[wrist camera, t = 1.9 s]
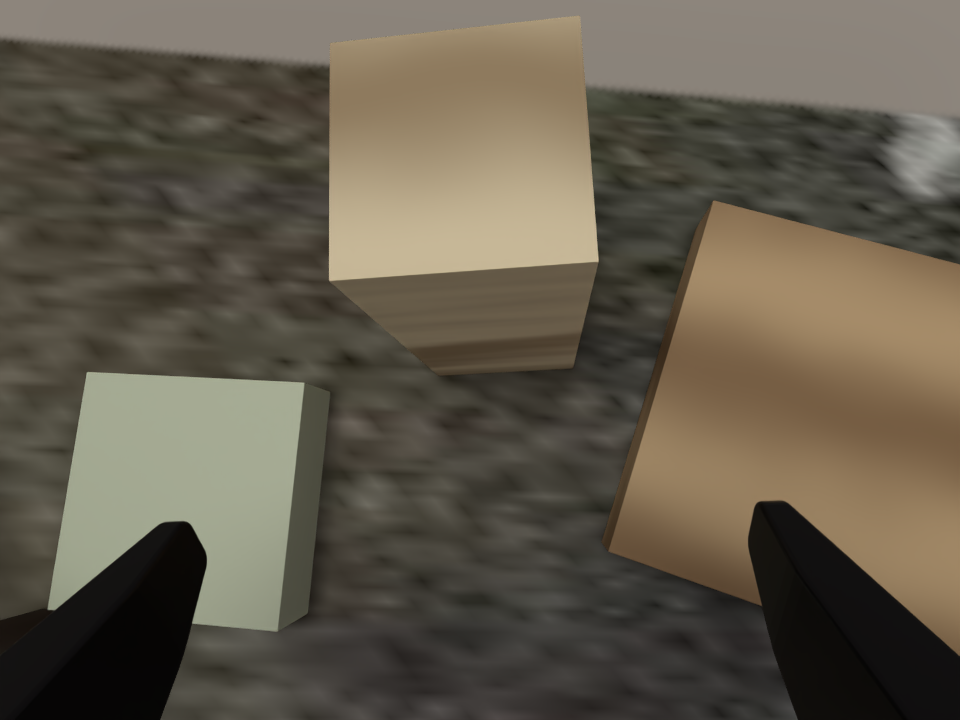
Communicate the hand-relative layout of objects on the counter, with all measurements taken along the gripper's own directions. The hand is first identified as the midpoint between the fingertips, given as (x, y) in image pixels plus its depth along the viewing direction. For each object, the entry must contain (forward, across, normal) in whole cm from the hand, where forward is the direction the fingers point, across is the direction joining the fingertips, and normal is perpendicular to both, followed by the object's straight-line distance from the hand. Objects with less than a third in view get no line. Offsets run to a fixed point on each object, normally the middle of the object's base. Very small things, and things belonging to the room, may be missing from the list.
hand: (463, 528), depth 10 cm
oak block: (+11, -11, +8) cm, 17 cm away
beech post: (+14, 0, +4) cm, 15 cm away
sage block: (+10, +11, +9) cm, 17 cm away
